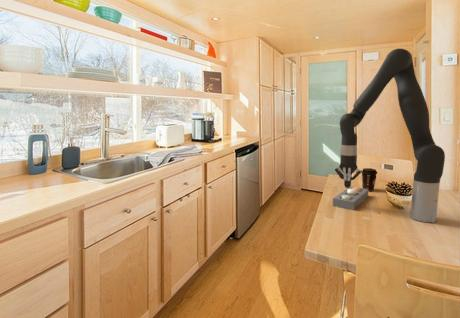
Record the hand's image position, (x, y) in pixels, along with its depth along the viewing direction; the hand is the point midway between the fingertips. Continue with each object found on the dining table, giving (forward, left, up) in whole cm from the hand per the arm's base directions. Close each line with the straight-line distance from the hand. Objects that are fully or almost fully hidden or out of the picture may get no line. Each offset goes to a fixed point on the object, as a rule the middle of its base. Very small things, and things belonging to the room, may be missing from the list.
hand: (347, 187), depth 136 cm
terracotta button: (0, -18, -7) cm, 19 cm away
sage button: (0, 0, -7) cm, 7 cm away
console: (0, -9, -9) cm, 13 cm away
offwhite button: (0, -9, -6) cm, 11 cm away
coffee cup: (-2, -36, -10) cm, 37 cm away
